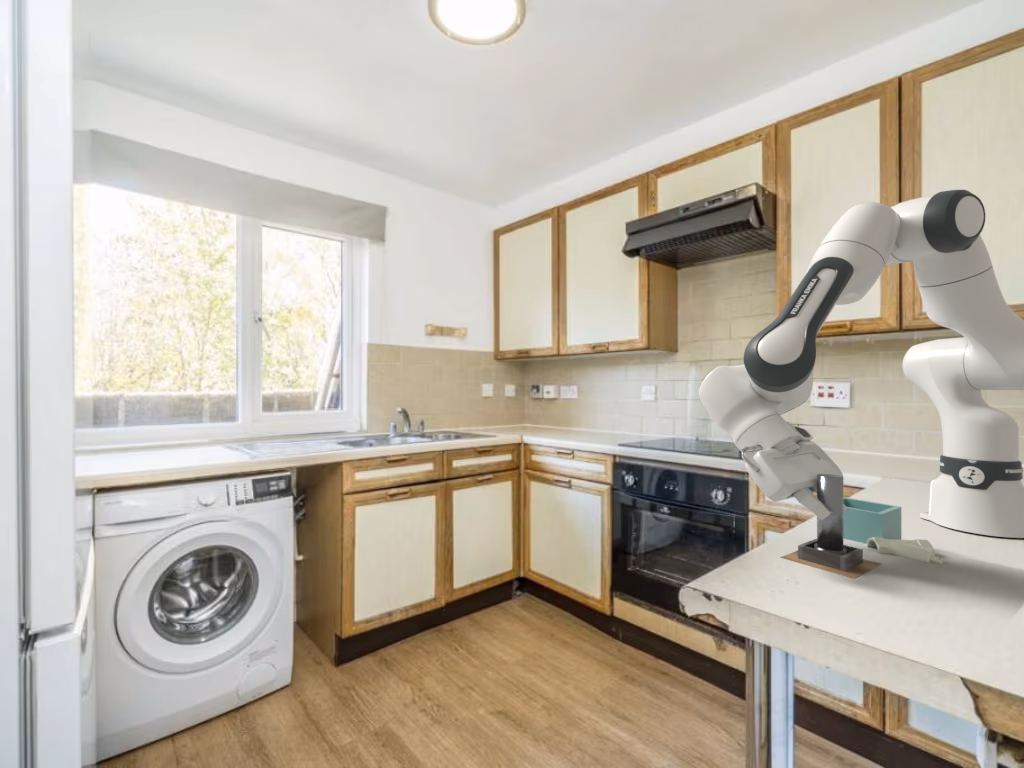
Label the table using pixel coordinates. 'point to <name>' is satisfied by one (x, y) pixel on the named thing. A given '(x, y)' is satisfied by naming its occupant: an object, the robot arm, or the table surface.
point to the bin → (870, 520)
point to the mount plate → (832, 560)
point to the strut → (833, 525)
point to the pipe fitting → (905, 548)
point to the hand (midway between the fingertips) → (834, 514)
